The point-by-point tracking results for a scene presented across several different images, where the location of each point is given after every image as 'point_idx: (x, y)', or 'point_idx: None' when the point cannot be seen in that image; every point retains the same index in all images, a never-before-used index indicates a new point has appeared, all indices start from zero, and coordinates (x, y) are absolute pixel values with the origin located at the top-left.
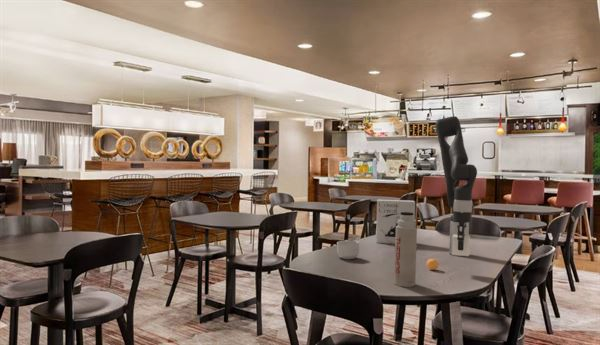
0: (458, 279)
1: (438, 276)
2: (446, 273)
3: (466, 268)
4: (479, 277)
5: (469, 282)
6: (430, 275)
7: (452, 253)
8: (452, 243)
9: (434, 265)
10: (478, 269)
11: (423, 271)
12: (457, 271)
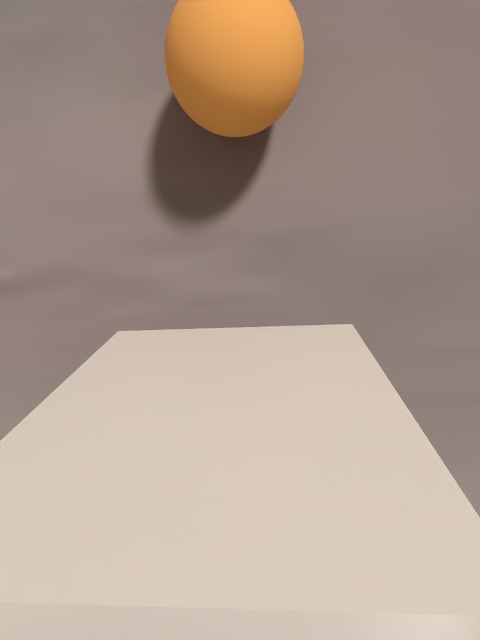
0: (36, 342)
1: (23, 188)
2: (172, 235)
3: (459, 367)
4: None
5: (6, 411)
6: (9, 112)
7: (111, 344)
8: (18, 429)
9: (178, 100)
10: (459, 449)
11: (121, 2)
12: (301, 311)
